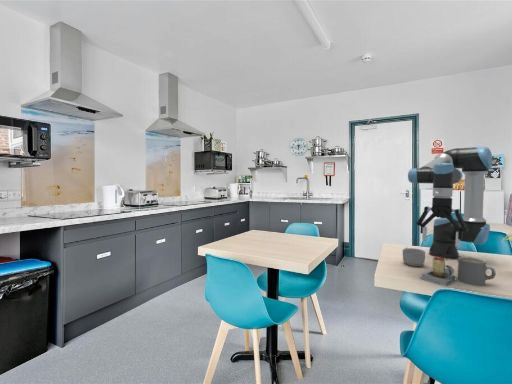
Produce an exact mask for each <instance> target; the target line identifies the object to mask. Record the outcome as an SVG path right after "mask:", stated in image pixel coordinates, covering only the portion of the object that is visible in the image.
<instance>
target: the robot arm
mask: <svg viewBox="0 0 512 384" xmlns="http://www.w3.org/2000/svg"><path fill="white" fill-rule="evenodd" d="M492 167H493V156H492V152H491V149H490V148H489V147H487V146H477V147H476V146H475V147H473V146H472V147H461V148H460V147H459V148H452V149H447V150H445V151H443V152H441V153H439V154H437V155H436V156H435V157H434V159H432V160H431V161H429V162H428V163H426V164H424V165H422V166H421V167H419V168H417V167H415V168H410V169H409V170H408V172H407V180H408V182H409V183H412V184H432V199H431V200H432V201H431V202H432V203H431V205H432V206H431V207H430V206H428V205H427V206H424V208H423V212H422V214H421V215H420V217H419V218H418V220H417V221H416V223H415V224H416V226H419V227H420V234H421V235H422V237H421V240H422V242H425V241H427V233H428V227H427V225H428V224H429V223H430V222H431V221H432V220H433V221H434V222H433V227H432V229H433V235H432V243H431V245H430V247H429V250H428V255H430V256H433V257H434V256H440V257H444V258H445V259H446V260H447V259H450V260H457V259H458V258H459V257H460V253H459V251H458V247H460V246H461V242H465V243H471V244H479V245H484V244H485V243H486V242H487V240H488V238H489V234H490V230H491V225H490V224H489V223H487V220H486V219H485V218H484V197H485V196H484V192H485V191H484V190H485V189H484V188H485V174H487V173H488V172H489V169H492ZM463 175H464V196H463V197H464V198H463V199H464V201H463V216H462V213H461V209H460V208H457V209H455V208H454V209H453V198H452V197H453V193H454V191H453V190H454V189H453V187H454V185H455V184H458V183H460V181H462V179H463ZM430 212H432V213H431V214H430V215H429V217H427V216H428V213H430ZM452 213H453V214H454V215H455V217H453V215H452ZM426 217H427V218H426ZM434 218H435V219H434Z"/></svg>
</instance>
